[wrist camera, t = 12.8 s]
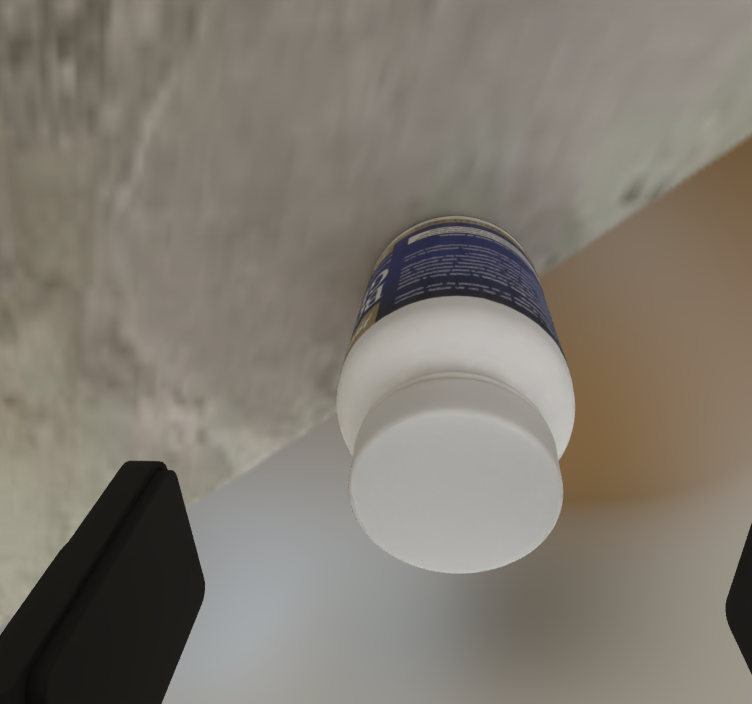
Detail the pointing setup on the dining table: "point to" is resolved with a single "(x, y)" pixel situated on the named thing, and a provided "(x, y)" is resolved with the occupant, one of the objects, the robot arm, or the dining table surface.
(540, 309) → the pill bottle
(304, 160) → the dining table surface
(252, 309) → the dining table surface
